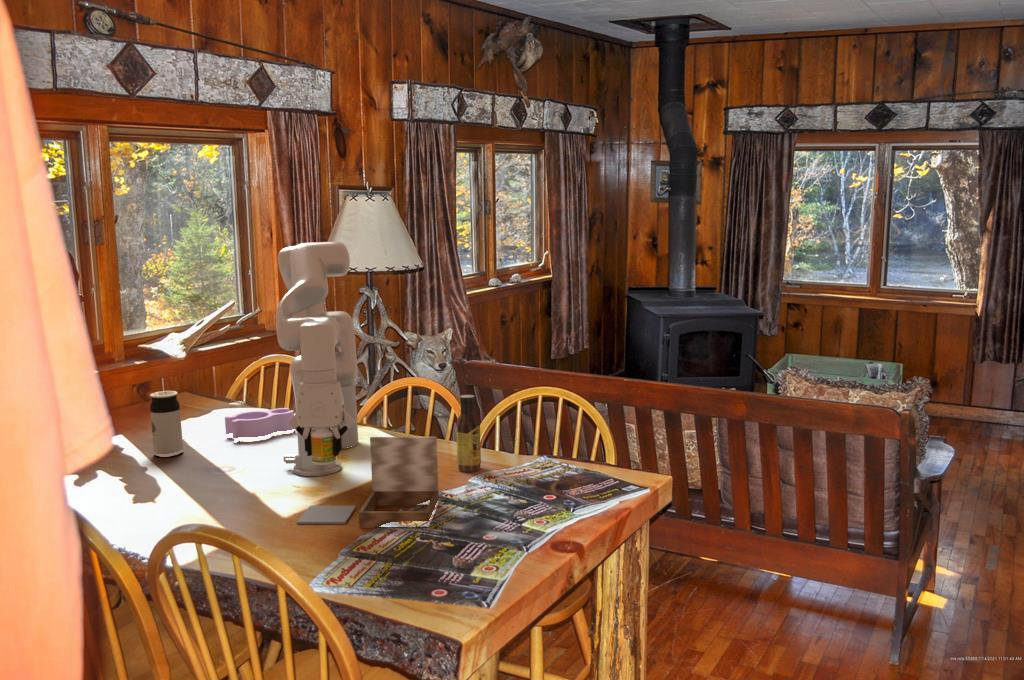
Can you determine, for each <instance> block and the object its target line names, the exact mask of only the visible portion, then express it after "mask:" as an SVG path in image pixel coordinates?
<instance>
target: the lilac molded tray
mask: <svg viewBox="0 0 1024 680" xmlns="http://www.w3.org/2000/svg"><path fill="white" fill-rule="evenodd" d="M294 416H295V411H294V410H292V409H291V410H290V408H289V407H280V408H272V409H268V410H267V409H266V410H251V411H243V412H238V413H235V414H232V415H230V416H229V415H228V416H224V423H225V425H224V427H225V435H226V434H229V433H233V438H238V437H258V436H265V435H268V434H271V433H273V432H277V431H287V430H292V429H294V428H293V427H291V426H290V425H289V422H290V421H291V419H292V418H293V417H294Z"/></svg>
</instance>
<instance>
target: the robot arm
mask: <svg viewBox="0 0 1024 680" xmlns="http://www.w3.org/2000/svg"><path fill="white" fill-rule="evenodd" d="M349 254H350V253H349V250H348V248H347V246H346V245H345V244H344V243H343V242H340V241H319V242H318V241H316V242H314V241H313V242H303V243H299V244H297V245H291V246H287V247H284V248H282V249H281V250H280V251H279V252H278V255H277V263H278V269H279V272H280V275H281V278H282V281H283V283H284V285H285V287H286V289H287V292H286V293H285V294H284V295H283V297H282V299H280V301H279V303H278V305H277V307H276V311H275V325H276V339H277V342H278V344H279V347H281V348H282V349H283V350H285V351H289V352H290V351H300V355H297V356H295V357H294V358H293V359H292V360H291V361H290V365H289V373H290V374H289V375H290V379H291V383H292V388H293V394H294V403H295V413H294V417H293V418H292V419H291V421H290V422H289V425H290V426H291V427H293V428H294V429H295V432H296V435H297V449H298V450H297V451H298V453H295V454H284V455H283V462H284V463H285V464H294V465H293V473H294V472H295V474H296V475H298V474H299V475H298V476H302V475H303V476H304V477H321V476H326V475H327V474H328V475H331V473H332V474H334V472H335V473H337V472H339V471H340V470H341V469H342V463H341V462H340V461H339V460H336V461H335V462H334V463H332V464H328V465H316V464H313V463H312V451H311V432H312V430H314V428H328V427H330V428H331V429H332V430H333V433H334V435H335V436H334V439H333V451H334V455H335V456H336V457H337V456H338V455H339V454H341V452H342V450H343V449H342V438H341V436H342V435H343V434H344V433H345V432H346V431H347V430H348V429H349V428H350V427H351V426H352V425H353V424H354V423H355V420H354V419H353V418H352V417H351V416H350V415H349V414H348V413H347V412H346V410H345V407H344V400H343V394H342V389H341V387H349V386H352V385H354V384H355V385H356V383H357V381H358V376H359V375H358V371H359V370H358V358H357V357H358V356H357V347H356V346H357V344H356V343H357V342H356V334H355V325H354V322H353V321H354V320H353V318H352V316H351V315H350V314H349V313H348V312H346V311H340V310H335V311H326V310H325V306H324V305H325V304H324V300H326V298H327V296H328V295H329V290H330V289H329V283H328V278H329V277H331V278H332V277H333V278H334V277H338V278H339V277H343V276H345V275H347V274H348V272H349V270H350V263H351V262H350V261H351V260H350V255H349ZM336 349H337V350H338V351H336ZM344 420H346V422H347V423H346V424H345V425H344V426H343V427H342V428H341V426H340V425H341V423H342V422H343V421H344ZM338 470H339V471H338ZM336 471H337V472H336ZM328 475H327V476H328Z"/></svg>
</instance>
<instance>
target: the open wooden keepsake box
mask: <svg viewBox="0 0 1024 680" xmlns="http://www.w3.org/2000/svg"><path fill="white" fill-rule="evenodd" d="M369 443H370V444H369V445H370V447H369V449H370V465H371V466H370V471H371V486H372V487H371V488H372V489H371V490H372V491H371V493H370V494H369V496H368V498H367V499H366V501H365V502H364V503H363V505H362V507H361V508H360V509H359V511H358V528H359V529H361V528H362V529H364V528H365V529H371V528H372V529H375V527H379V526H381V525H383V524H386V523H390V522H401V521H429V519H430V517H431V515H432V512H433V510H434V508H435V505H436V503H437V501H438V498H439V499H440V495H439V494H440V493H439V468H438V444H437V443H438V441H437V436H370V437H369ZM428 500H430V503H429V505H428V506H426V509H425V510H420V511H419V510H418V511H416V510H415V511H410V510H409V511H406V510H405V511H404V510H403V511H401V510H398V511H396V510H395V511H394V510H393V511H391V510H389V511H386V510H383V511H378V510H377V511H376V510H375V509H376V507H377V506H386V507H387V506H400V507H401V506H410V507H411V506H414V505H417V504H420V503H423V502H426V501H428ZM374 510H375V511H374Z"/></svg>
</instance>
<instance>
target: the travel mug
mask: <svg viewBox="0 0 1024 680" xmlns="http://www.w3.org/2000/svg"><path fill="white" fill-rule="evenodd" d="M178 394H179V393H178V391H176V390H162V391H155V392H152V393H150V394H149V397H150V398H151V403H150V405H149V409H150V410H149V412H150V421H151V436H152V445H153V446H152V447H153V453H154V452H155V453H157V454H169V453H174V452H178V451H180V450H182V449H183V450H184V444H183V443H184V442H183V433H182V432H183V430H182V420H181V416H182V415H181V407H180V406H181V405H180V402H179V400H178V397H177V396H178Z"/></svg>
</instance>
